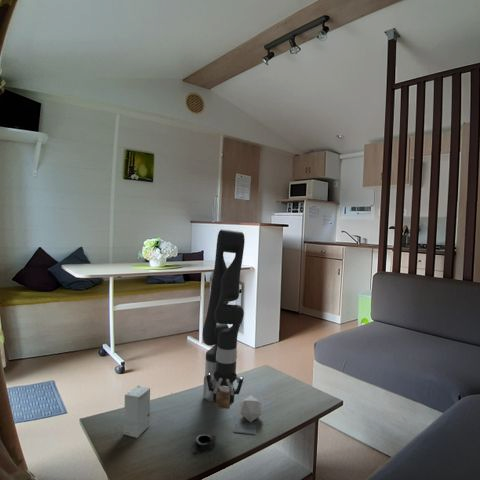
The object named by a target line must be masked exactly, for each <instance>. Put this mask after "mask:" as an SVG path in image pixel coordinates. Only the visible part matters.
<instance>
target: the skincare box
mask: <svg viewBox="0 0 480 480" xmlns="http://www.w3.org/2000/svg"><path fill="white" fill-rule="evenodd" d="M150 408H151V387H147V386H142V385H137V386H135V387H134V388H132V389H130V390H129V392H127V393H125V394H124V414H123V418H124V419H123V434H124V435H125V436H128V437H131V438H136V439H139V437H140V436H141V434H142V433H143V432H144V431H146V429H148V428H149V427H150V415H151V413H150V412H151V411H150V410H151V409H150Z"/></svg>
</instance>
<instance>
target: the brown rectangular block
mask: <svg viewBox="0 0 480 480" xmlns="http://www.w3.org/2000/svg"><path fill="white" fill-rule="evenodd" d="M230 395H231V393H230V390H229V388H228V386H225V387H222V386H219V388H218V390H217V393H216V403H215V408H218V409H226V410H230V408H231V405H230Z"/></svg>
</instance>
